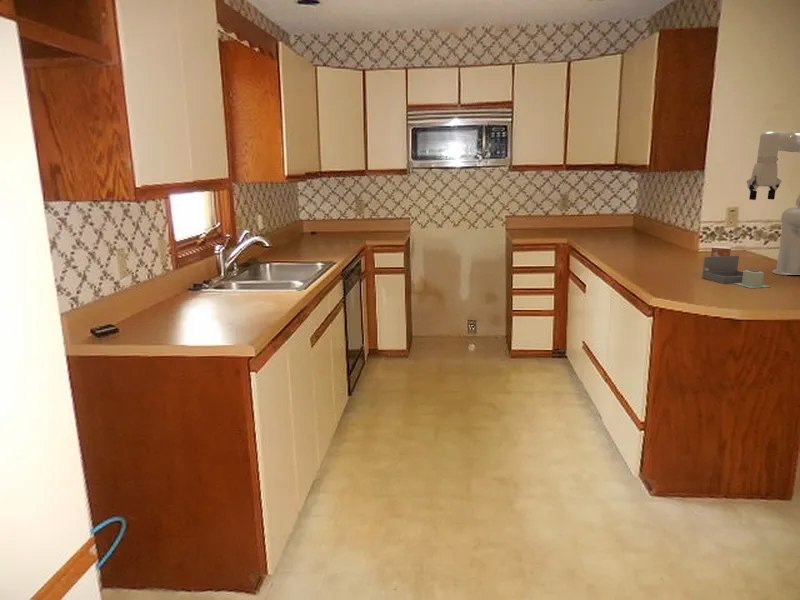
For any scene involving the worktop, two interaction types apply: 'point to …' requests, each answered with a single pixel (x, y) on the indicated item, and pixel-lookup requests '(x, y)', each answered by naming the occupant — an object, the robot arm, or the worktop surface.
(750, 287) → the mat
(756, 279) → the block
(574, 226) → the worktop surface
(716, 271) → the grey open box
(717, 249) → the small box
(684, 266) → the worktop surface
